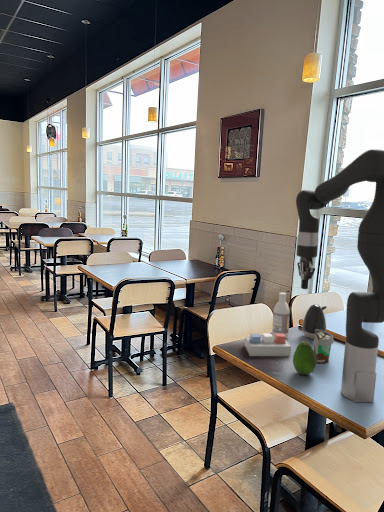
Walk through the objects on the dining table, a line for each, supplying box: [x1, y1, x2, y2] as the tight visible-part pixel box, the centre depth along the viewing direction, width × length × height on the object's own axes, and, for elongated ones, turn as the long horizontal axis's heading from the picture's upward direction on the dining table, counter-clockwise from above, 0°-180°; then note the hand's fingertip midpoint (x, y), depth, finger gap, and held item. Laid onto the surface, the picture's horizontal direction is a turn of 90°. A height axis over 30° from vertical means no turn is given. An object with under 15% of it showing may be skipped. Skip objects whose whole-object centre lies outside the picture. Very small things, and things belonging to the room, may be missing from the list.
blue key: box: [249, 333, 262, 343], centre depth 148 cm, size 3×3×4 cm
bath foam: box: [271, 292, 291, 340], centre depth 164 cm, size 7×7×20 cm
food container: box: [313, 329, 334, 365], centre depth 142 cm, size 12×6×10 cm, turn 168°
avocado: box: [292, 340, 317, 376], centre depth 129 cm, size 8×8×12 cm
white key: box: [261, 332, 273, 344], centre depth 149 cm, size 3×3×4 cm
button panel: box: [244, 336, 292, 357], centre depth 149 cm, size 10×16×4 cm, turn 93°
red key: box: [274, 333, 287, 344], centre depth 149 cm, size 3×3×4 cm
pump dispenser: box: [301, 304, 327, 340], centre depth 164 cm, size 10×10×15 cm
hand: (304, 288), depth 142 cm, fingers closed
